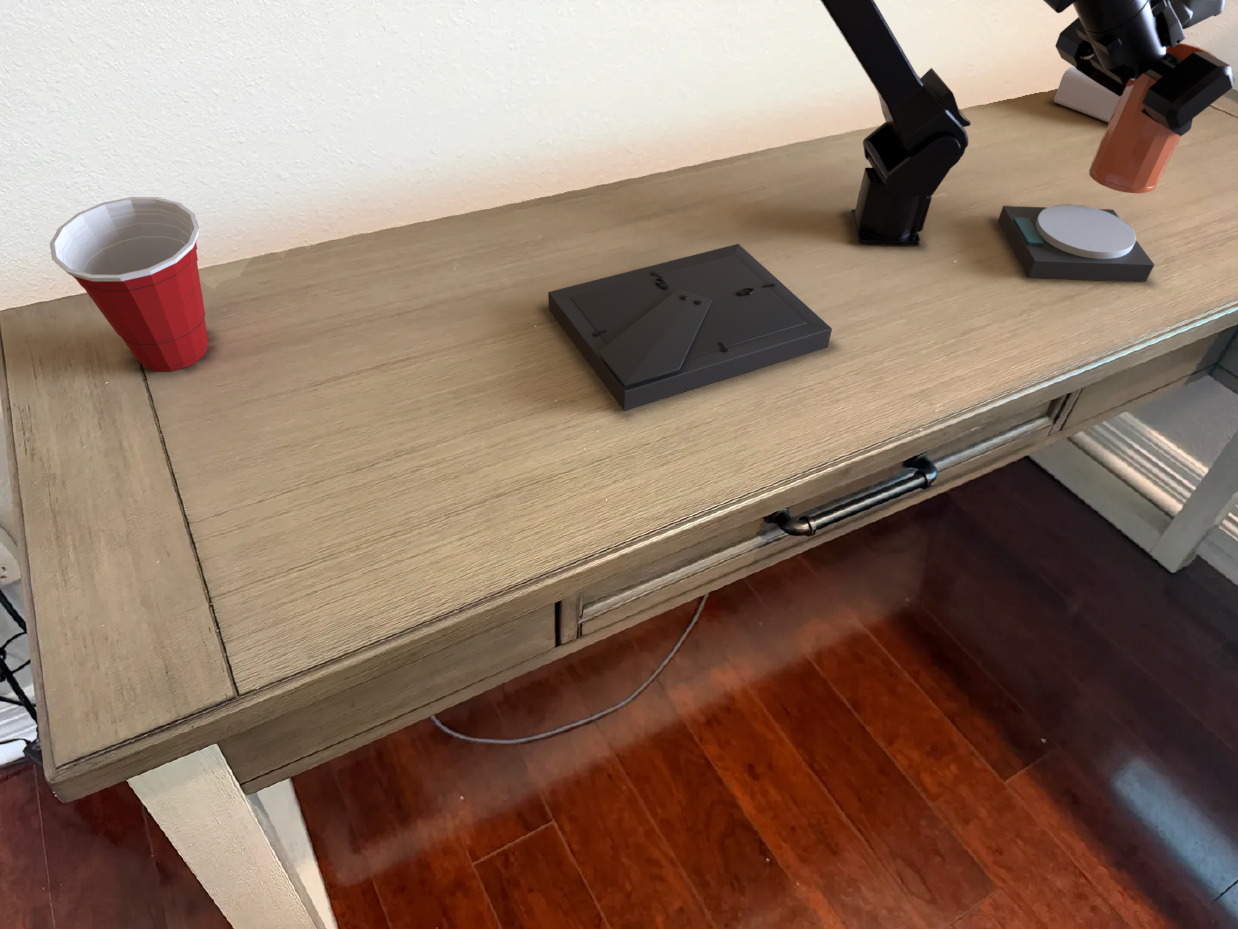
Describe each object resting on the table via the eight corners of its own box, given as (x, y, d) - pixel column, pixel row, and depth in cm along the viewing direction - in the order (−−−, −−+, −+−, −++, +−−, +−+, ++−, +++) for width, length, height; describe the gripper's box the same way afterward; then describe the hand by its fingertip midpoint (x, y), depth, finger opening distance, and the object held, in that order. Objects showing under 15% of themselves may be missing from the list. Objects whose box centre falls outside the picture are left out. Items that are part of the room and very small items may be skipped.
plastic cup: (98, 402, 73) (34, 277, 65) (114, 325, 80) (58, 204, 72) (237, 382, 75) (193, 258, 67) (240, 309, 83) (201, 189, 74)
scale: (1027, 277, 90) (1037, 253, 88) (996, 222, 98) (1005, 198, 96) (1145, 281, 90) (1158, 257, 88) (1105, 225, 98) (1116, 202, 96)
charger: (1157, 144, 113) (1051, 104, 121) (1192, 126, 117) (1087, 88, 125) (1174, 107, 109) (1064, 68, 118) (1209, 90, 114) (1101, 53, 122)
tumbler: (1102, 191, 93) (1159, 64, 84) (1079, 162, 98) (1130, 39, 89) (1166, 194, 94) (1230, 67, 85) (1140, 165, 98) (1198, 42, 89)
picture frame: (623, 411, 74) (827, 347, 81) (625, 384, 72) (833, 321, 79) (548, 310, 84) (736, 261, 91) (547, 284, 82) (739, 236, 89)
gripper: (1276, -33, 72) (1309, 94, 82) (1132, -94, 85) (1175, 23, 95) (1149, 71, 76) (1194, 181, 86) (1029, -2, 89) (1081, 101, 99)
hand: (1161, 116), depth 92 cm, fingers closed on tumbler, 7 cm apart
